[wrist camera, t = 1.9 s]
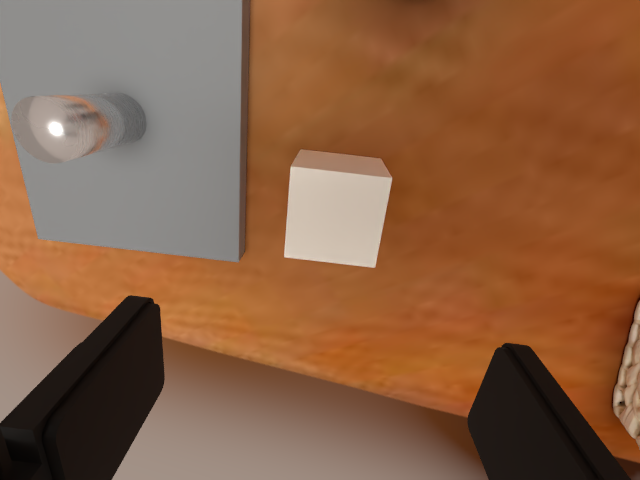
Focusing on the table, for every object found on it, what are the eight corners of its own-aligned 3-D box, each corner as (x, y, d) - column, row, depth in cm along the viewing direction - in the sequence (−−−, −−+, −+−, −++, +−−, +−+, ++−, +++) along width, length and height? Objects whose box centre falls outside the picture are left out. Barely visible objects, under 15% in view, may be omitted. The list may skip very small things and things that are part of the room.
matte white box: (381, 158, 26) (392, 178, 21) (367, 232, 29) (375, 267, 23) (300, 148, 26) (290, 166, 21) (294, 223, 29) (284, 257, 23)
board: (250, -40, 22) (242, -52, 20) (244, 251, 30) (238, 262, 28) (-9, -71, 22) (-40, -85, 20) (56, 229, 30) (38, 238, 28)
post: (144, 96, 23) (70, 100, 17) (148, 145, 24) (81, 166, 18) (95, 90, 23) (3, 92, 17) (103, 139, 24) (19, 159, 18)
